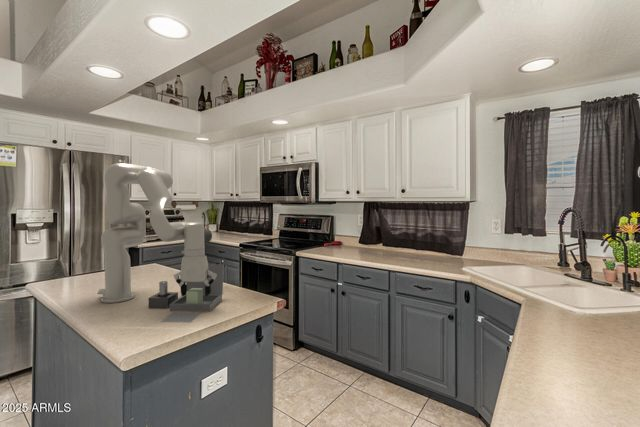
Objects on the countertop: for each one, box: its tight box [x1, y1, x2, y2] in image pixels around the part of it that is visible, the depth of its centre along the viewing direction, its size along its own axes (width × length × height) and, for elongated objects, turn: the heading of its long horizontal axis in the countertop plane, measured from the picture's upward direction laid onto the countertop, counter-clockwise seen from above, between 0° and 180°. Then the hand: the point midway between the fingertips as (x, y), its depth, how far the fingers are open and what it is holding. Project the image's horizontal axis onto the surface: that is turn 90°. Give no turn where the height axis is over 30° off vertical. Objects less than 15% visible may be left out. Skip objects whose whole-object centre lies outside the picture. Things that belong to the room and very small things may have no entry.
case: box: [169, 295, 223, 312], centre depth 126 cm, size 16×13×3 cm
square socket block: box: [148, 291, 179, 309], centre depth 126 cm, size 8×8×4 cm
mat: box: [160, 312, 202, 323], centre depth 113 cm, size 11×9×1 cm
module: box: [186, 288, 203, 304], centre depth 124 cm, size 4×5×7 cm
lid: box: [185, 263, 225, 296], centre depth 134 cm, size 16×13×1 cm
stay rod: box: [158, 280, 169, 297], centre depth 126 cm, size 3×3×10 cm
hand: (195, 295), depth 124 cm, fingers open, 9 cm apart
